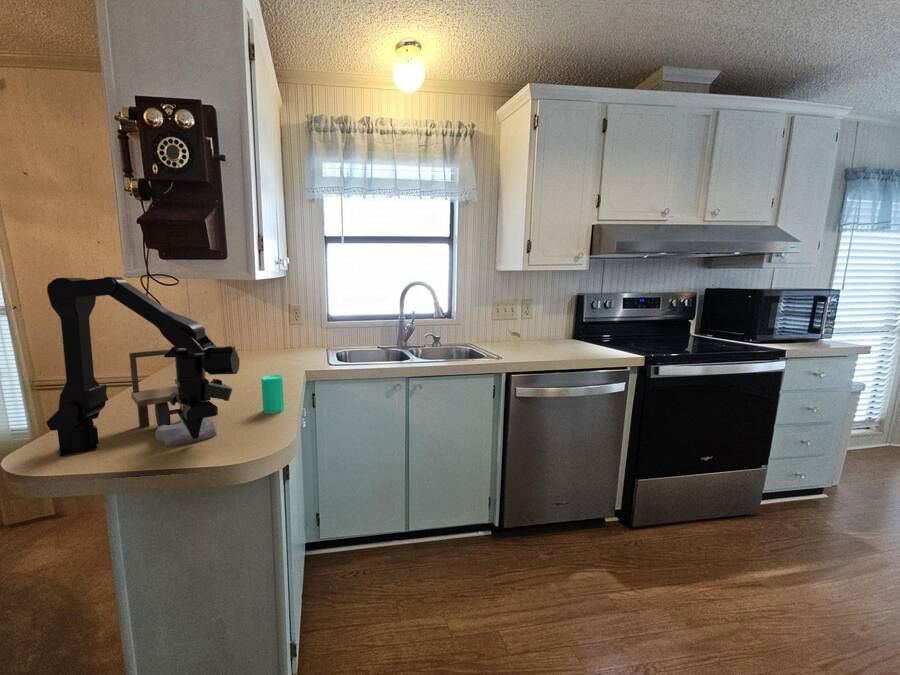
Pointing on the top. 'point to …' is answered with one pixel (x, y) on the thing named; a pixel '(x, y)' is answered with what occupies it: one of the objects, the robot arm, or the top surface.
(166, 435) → the stone block
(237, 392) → the top surface
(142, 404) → the wooden chair
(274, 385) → the candle
